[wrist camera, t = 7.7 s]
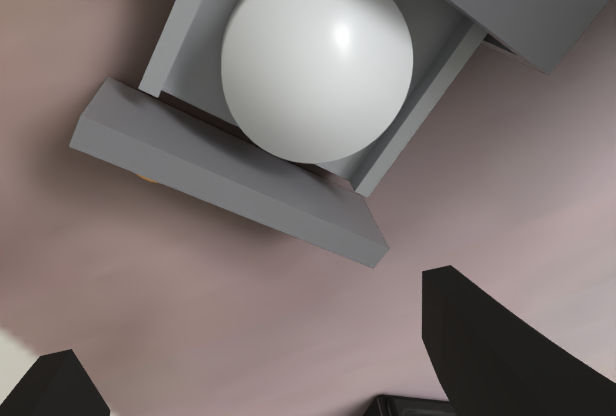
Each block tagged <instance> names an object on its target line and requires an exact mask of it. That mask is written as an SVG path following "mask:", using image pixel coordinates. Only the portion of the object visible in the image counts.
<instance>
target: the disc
mask: <svg viewBox="0 0 616 416" xmlns="http://www.w3.org/2000/svg"><path fill="white" fill-rule="evenodd" d="M412 69H413V49H412V42H411V37H410V34H409V30H408V27H407V24H406V22H405V20H404V17H403V15H402V13H401V12H400V10H399V9H398V7H397V5H396V4H395V2H394V1H393V0H238V2H237V4H236V5H235V7H234V9H233V10H232V12H231V14H230V17H229V19H228V21H227V24H226V27H225V31H224V34H223V40H222V47H221V76H222V84H223V91H224V95H225V99H226V102H227V105H228V107H229V109H230V112H231V114H232V116H233V117H234V119H235V121H236V123H237V124H238V126H239V127H240V128H241V129H242V131H243V132H244V133H245V134H246V135H247V136H248V137H249V138H250V139H251V140H252V141H253V142H254V143H255V144H257V145H258V146H259V147H261V148H262V149H264V150H265V151H267V152H269V153H271V154H272V155H275V156H277V157H280V158H282V159H286V160H289V161H293V162H300V163H324V162H330V161H335V160H339V159H341V158H344V157H347V156H350V155H352V154H354V153H356V152H358V151H360V150H361V149H363V148H365V147H366V146H368V145H369V144H370V143H372V142H373V141H374V140H376V139H377V138H378V137H379V136H380V135H381V134H382V133H383V132H384V131H385V130H386V129H387V128H388V126H389V125H390V124H391V123H392V121H393V120H394V119H395V117H396V115H397V114H398V112H399V111H400V109H401V107H402V105H403V103H404V101H405V98H406V95H407V92H408V90H409V86H410V82H411V77H412Z"/></svg>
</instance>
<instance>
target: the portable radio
mask: <svg viewBox="0 0 616 416" xmlns="http://www.w3.org/2000/svg"><path fill="white" fill-rule="evenodd" d="M364 416H457V414H456V412H455V410H454V409H453V407H452V405H451V403H450V402H445V401H436V400H427V399H418V398H408V397H399V396H390V395H383V396H380V397H376V399H375V400H374V402H373V403H372V405H371V406H370V408H369V409H368V410H367V412H366V413H365V415H364Z"/></svg>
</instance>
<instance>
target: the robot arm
mask: <svg viewBox="0 0 616 416" xmlns="http://www.w3.org/2000/svg"><path fill="white" fill-rule="evenodd" d="M422 339H423V342H424V345H425V347H426V350H427V352H428V355H429V357H430V360H431V362H432V365H433V367H434V370H435V372H436V375H437V377H438V379H439V382H440V384H441V386H442V388H443V390H444V392H445V394H446V395H447V397H448V399H449V401H450V403H451V405H452V407H453V409H454V410H455V412H456V414H457V416H616V383H614V382H613V381H611V380H609V379H608V378H606V377H605V376H603V375H602V374H600V373H598V372H597V371H595V370H594V369H592V368H591V367H589V366H588V365H586V364H585V363H583V362H582V361H580V360H579V359H577V358H575V357H574V356H572V355H571V354H569V353H568V352H566V351H565V350H564V349H562V348H561V347H559V346H558V345H556V344H555V343H553V342H552V341H550V340H549V339H548V338H546V337H545V336H544V335H542V334H541V333H539V332H538V331H537V330H535V329H534V328H532V327H531V326H530V325H528V324H527V323H525V322H524V321H523V320H521V319H520V318H519V317H517V316H516V315H515V314H513V313H512V312H511V311H509V310H508V309H507V308H505V307H504V306H503V305H501V304H500V303H499V302H497V301H496V300H495V299H493V298H492V297H491V296H490V295H488V294H487V293H486V292H484V291H483V290H482V289H481V288H479V287H478V286H477V285H475V284H474V283H473V282H472V281H470V280H469V279H468V278H467V277H465V276H464V275H463V274H461V273H460V272H459V271H458V270H456V269H455V268H454V267H452V266H451V265H449V266H445V267H440V268H436V269H431V270H427V271H422ZM0 416H110V409H109V407H108V406H107V404H106V403H105V401H104V400H103V398H102V396H101V395H100V393H99V392H98V390H97V388H96V387H95V385H94V384H93V382H92V381H91V379H90V377H89V376H88V374H87V373H86V371H85V369H84V368H83V366H82V365H81V363H80V362H79V360H78V358H77V357H76V355H75V354H74V352H73V350H72V349H70V350H66V351H61V352H57V353H52V354H48V355H43V356H40V357H39V358H38V359H37V361H36V362H35V363H34V364H33V365H32V367H31V368H30V369H29V370H28V371H27V373H26V374H25V375H24V376H23V378H22V379H21V380H20V381H19V383H18V384H17V385H16V386H15V388H14V389H13V390H12V391H11V393H10V394H9V395H8V396H7V398H6V399H5V400H4V401H3V403H2V404H1V405H0Z"/></svg>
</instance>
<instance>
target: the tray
mask: <svg viewBox="0 0 616 416" xmlns="http://www.w3.org/2000/svg"><path fill="white" fill-rule="evenodd" d="M393 1H394V2H395V4H396V5H397V7H398V9H399V10H400V12H401V13H402V15H403V17H404V20H405V22H406V24H407V27H408V30H409V34H410V37H411V42H412V49H413V69H412V77H411V82H410V86H409V90H408V92H407V95H406V98H405V101H404V103H403V105H402V107H401V109H400V111H399V112H398V114H397V115H396V117H395V119H394V120H393V121H392V123H391V124H390V125H389V126H388V128H387V129H386V130H385V131H384V132H383V133H382V134H381V135H380V136H379V137H378V138H377V139H376V140H374V141H373V142H372V143H370V144H369V145H368V146H366V147H365V148H363V149H361V150H360V151H358V152H356V153H354V154H352V155H350V156H347V157H344V158H341V159H339V160H335V161H330V162H324V163H313V164H315V165H317V166H319V167H321V168H323V169H326V170H328V171H330V172H332V173H334V174H336V175H338V176H340V177H342V178H344V179H346V180H348V181H350V183H351V185H352V187H353V189H354V191H355V192H357V193H359V194H361V195H363V196H365V197H367V198H368V197H369V195H370V194H371V193H372V191H373V190H374V188H375V187H376V186H377V184H378V183H379V182H380V180H381V179H382V178H383V176H384V175H385V173H386V172H387V171H388V169H389V168H390V167H391V165H392V164H393V162H394V161H395V160H396V158H397V157H398V156H399V154H400V153H401V151H402V150H403V149H404V147H405V146H406V145H407V143H408V142H409V140H410V139H411V138H412V136H413V135H414V134H415V132H416V131H417V129H418V128H419V127H420V125H421V124H422V123H423V121H424V120H425V119H426V117H427V116H428V114H429V113H430V112H431V110H432V109H433V108H434V106H435V105H436V103H437V102H438V101H439V99H440V98H441V97H442V95H443V94H444V92H445V91H446V90H447V88H448V87H449V86H450V84H451V83H452V81H453V80H454V79H455V77H456V76H457V75H458V73H459V72H460V70H461V69H462V68H463V66H464V65H465V64H466V62H467V61H468V60H469V58H470V57H471V55H472V54H473V53H474V51H475V50H476V49H477V47H478V46H479V44H480V43H481V42H482V40H483V39H484V38H485V36H486V35H487V32H486V31H485V30H483V29H482V28H481V27H479V26H478V25H477V24H475V23H474V22H473V21H471V20H470V19H469V18H467V17H466V16H465V15H463V14H462V13H461V12H459V11H458V10H457V9H456V8H454V7H453V6H452V5H450V4H449V3H448V2H446V1H445V0H393ZM237 2H238V0H176V1H175V3H174V6H173V8H172V10H171V13H170V15H169V17H168V20H167V22H166V24H165V27H164V29H163V32H162V34H161V36H160V39H159V41H158V43H157V46H156V48H155V50H154V53H153V55H152V57H151V60H150V62H149V64H148V67H147V69H146V71H145V74H144V76H143V78H142V81H141V83H140V85H139V88H138V89H140V90H142V91H144V92H147V93H149V94H151V95H153V96H155V97H157V98H158V96H159V94H160V92H161V90H162V91H165V92H167V93H169V94H171V95H173V96H175V97H177V98H179V99H181V100H183V101H185V102H187V103H189V104H191V105H193V106H195V107H198V108H200V109H202V110H204V111H206V112H208V113H210V114H212V115H214V116H216V117H218V118H220V119H222V120H224V121H226V122H229V123H231V124H233V125H235V126H237V127H239V126H238V124H237V123H236V121H235V119H234V117H233V116H232V114H231V112H230V109H229V107H228V105H227V102H226V99H225V95H224V91H223V84H222V76H221V47H222V40H223V34H224V31H225V27H226V24H227V21H228V19H229V17H230V14H231V12H232V10H233V9H234V7H235V5H236V4H237ZM239 128H240V127H239ZM69 147H71V148H74V149H76V150H79V151H81V152H84V153H86V154H89V155H91V156H94V157H96V158H99V159H101V160H104V161H106V162H109V163H111V164H114V165H116V166H119V167H121V168H124V169H126V170H129V171H131V172H134V173H136V174H137V175H138V176H139V177H141V178H143V179H145V180H147V181H150V182H154V183H161V184H164V185H166V186H169V187H171V188H174V189H176V190H179V191H181V192H184V193H186V194H189V195H191V196H194V197H196V198H199V199H201V200H204V201H206V202H209V203H211V204H214V205H216V206H219V207H221V208H224V209H226V210H229V211H231V212H234V213H236V214H239V215H241V216H243V217H246V218H248V219H251V220H253V221H256V222H258V223H261V224H263V225H266V226H268V227H271V228H273V229H276V230H278V231H281V232H283V233H286V234H288V235H291V236H293V237H296V238H298V239H301V240H303V241H306V242H308V243H311V244H313V245H316V246H318V247H321V248H323V249H326V250H328V251H331V252H333V253H336V254H338V255H341V256H343V257H346V258H348V259H351V260H353V261H356V262H358V263H361V264H363V265H366V266H368V267H371V268H374V267H375V266H376V265H377V263H378V262H379V261H380V260H381V258H382V257H383V256H384V255H385V253H386V252H387V251H388V250H389V247H388V245H387V243H386V241H385V239H384V237H383V235H382V233H381V231H380V229H379V227H378V226H377V224H376V222H375V220H374V218H373V216H372V214H371V212H370V210H369V208H368V206H367V204H366V202H365V200H364V199H363V197H361V196H359V195H357V194H355V193H353V192H351V191H349V190H346V189H344V188H342V187H340V186H338V185H336V184H334V183H332V182H330V181H327V180H325V179H323V178H321V177H319V176H317V175H315V174H313V173H311V172H308V171H306V170H304V169H302V168H300V167H298V166H296V165H294V164H292V163H289V162H287V161H285V160H283V159H281V158H279V157H277V156H275V155H272V154H270V153H268V152H266V151H264V150H262V149H260V148H258V147H256V146H254V145H251V144H249V143H247V142H245V141H243V140H241V139H239V138H237V137H235V136H232V135H230V134H228V133H226V132H224V131H222V130H220V129H218V128H216V127H213V126H211V125H209V124H207V123H205V122H203V121H201V120H199V119H197V118H194V117H192V116H190V115H188V114H186V113H184V112H182V111H180V110H178V109H175V108H173V107H171V106H169V105H167V104H165V103H163V102H161V101H159V100H156V99H154V98H152V97H150V96H148V95H146V94H144V93H142V92H140V91H137V90H135V89H133V88H131V87H129V86H127V85H125V84H123V83H121V82H118V81H116V80H114V79H112V78H110V77H108V78H107V79H106V80H105V82H104V83H103V85H102V86H101V87H100V89H99V90H98V92H97V93H96V94H95V96H94V97H93V99H92V100H91V101H90V103H89V104H88V106H87V107H86V108H85V110H84V111H83V113H82V114H81V115H80V118H79V121H78V123H77V126H76V128H75V131H74V134H73V136H72V139H71V142H70V144H69Z"/></svg>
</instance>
